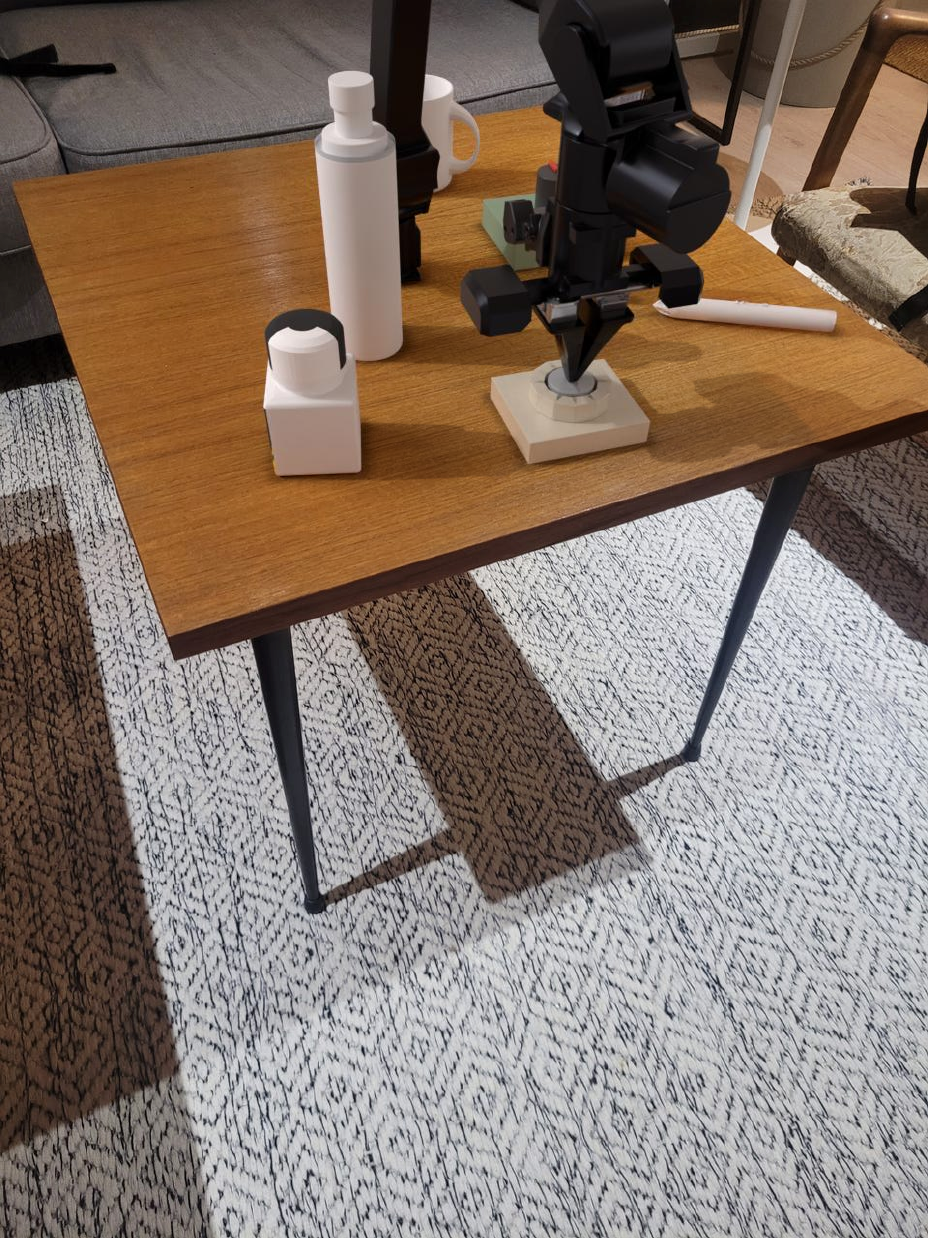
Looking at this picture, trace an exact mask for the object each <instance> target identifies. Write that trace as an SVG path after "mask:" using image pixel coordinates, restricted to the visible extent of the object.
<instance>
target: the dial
mask: <svg viewBox="0 0 928 1238" xmlns="http://www.w3.org/2000/svg"><path fill="white" fill-rule="evenodd" d="M557 166H558V163H555V161H554V160H550V161H547V164H543V165H542V166H540V167H538V169H537V171H536V182H535V207H534V208H539V207H546V203H547V202H548V198H549V197H555V188H556V177H557Z"/></svg>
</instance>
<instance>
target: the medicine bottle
mask: <svg viewBox="0 0 928 1238" xmlns="http://www.w3.org/2000/svg"><path fill="white" fill-rule="evenodd" d="M263 336H264V341H265V346H266V352H267V367H266V377H265V385H264V396H263V406H262V407H263V413H264V419H265V424H266V428H267V429H266V430H267V435H268V441H269V447H270V452H271V458H272V464H273V470H274V473H275V475H276V476H279V477H282V476H285V477H286V476H305V475H306V476H308V475H329V474H331V475H332V474H354V473H359V472H361V471H362V430H361V429H362V428H361V426H362V425H361V411H360V400H359V387H358V373H357V363H356V362H357V360H355V356H354V355H353V354H352V353H346V347H345V336H344V327H343V325H342V323H341V322H340V321H339V320H338V319H337V318H336V317H335V316H333V315H332V314H331V312H328V311H326V310H321V309H317V308H297V309H292V310H287V311H285V312H283V313H282V312H281V313H280V314H278V315H276V316H275V317H273V319H271V320H270V321H269V323H268V324H267V326H266V327H265V329H264V335H263Z"/></svg>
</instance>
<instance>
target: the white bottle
mask: <svg viewBox="0 0 928 1238" xmlns="http://www.w3.org/2000/svg"><path fill="white" fill-rule="evenodd" d="M327 82H328V83H327V85H328V95H329V105H330V108H331V109H332V110H333V117H334V121H333V122H330V123H328V124H326V125H325V126H324V127H323V128H322V130H321V132H320V133H318V134H317V136H316V137H315V138H314V152H315V153H314V154H315V162H316V173H317V184H318V193H319V194H318V195H319V203H320V204H319V205H320V214H321V225H322V234H323V246H324V254H325V255H324V256H325V265H326V275H327V284H328V285H327V286H328V294H329V304H330V314H332V315H333V316H335V317H336V318H337V319H338V320H339V321H340V322H341V323H342V325H343V327H344V336H345V347H346V353H352V354H353V355H354V356H355V361H360V362H375V361H381V360H385V359H388V358H390V357H392V356H393V355H395V354H397V352H399V351H400V349H401V348H402V346H403V341H404V334H403V333H404V331H403V311H402V310H403V307H402V304H403V303H402V284H401V276H400V249H399V222H398V196H397V172H396V148H395V144H394V143H395V138H394V136H393V135H392V134H391V133H390V132H388V131H387V130H386V128H385V127H384V126H383V125H381V124H379V123H377V122H374V121H372V108H373V107H374V104H375V101H374V81H373V77H372V76H371V75H370V73H367V72H364V71H360V70H345V71H343V70H342V71H338V72H335V73H333V74H331V75H330V76H329V77H328V78H327ZM390 138H391V139H392V140H393V141H394V142H393V141H392V140H391V139H390Z"/></svg>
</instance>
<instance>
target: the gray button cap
mask: <svg viewBox="0 0 928 1238" xmlns="http://www.w3.org/2000/svg"><path fill="white" fill-rule="evenodd" d="M594 383H595V381H594V378H593V376H592V375H591V374H590V373H589V372H587V371H585V372H584V374H583V375H582V376H581V378H580V379H579V380H578V381H576V382H570V383H569V382H568V380H567V379H566V377H565V375H564V371H563V367H562V368H559V369H556V370H554V371H553V372H551V373H550V375H549V377H548V385H547V387H548V389H549V390H551V391H553V392H555V393H556V394H558V395H560V396H567V397H579V396H585V395H589V394H590V393H592V392H593V390H594Z"/></svg>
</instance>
